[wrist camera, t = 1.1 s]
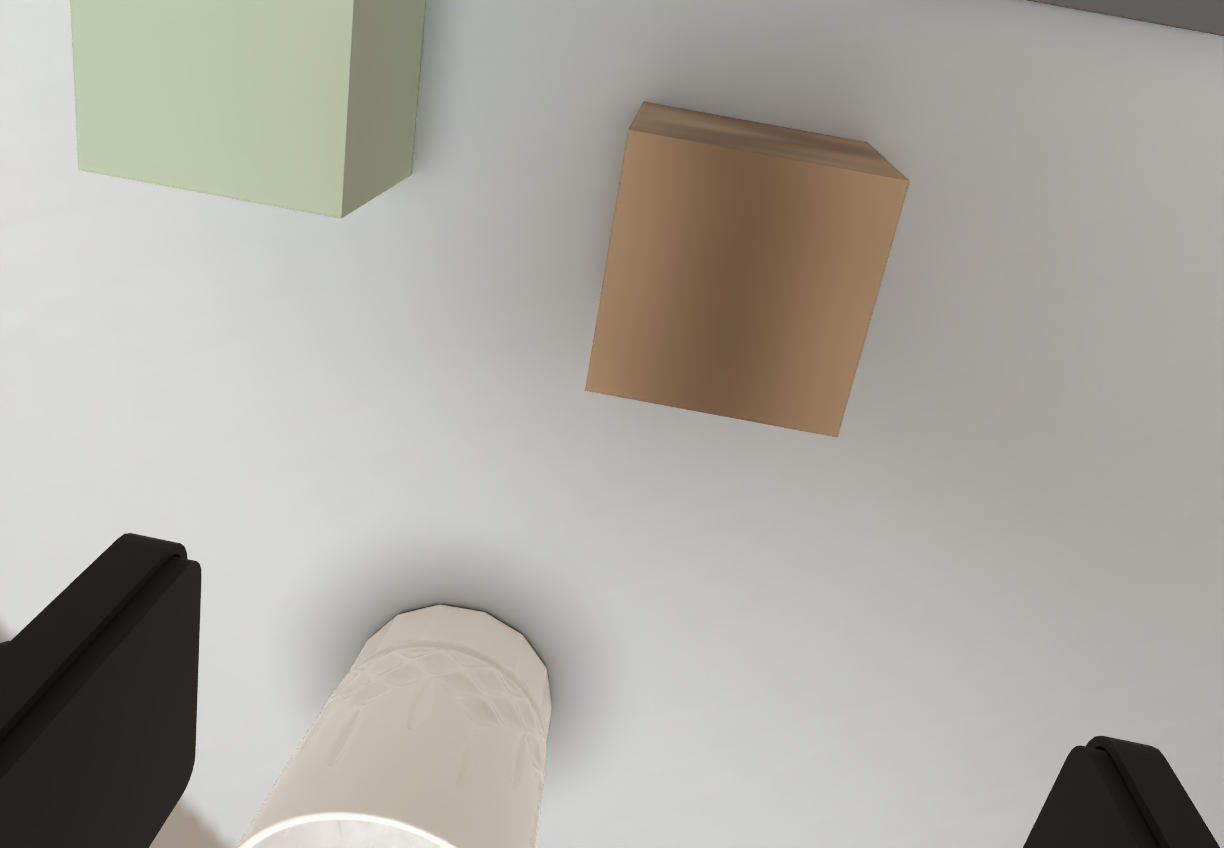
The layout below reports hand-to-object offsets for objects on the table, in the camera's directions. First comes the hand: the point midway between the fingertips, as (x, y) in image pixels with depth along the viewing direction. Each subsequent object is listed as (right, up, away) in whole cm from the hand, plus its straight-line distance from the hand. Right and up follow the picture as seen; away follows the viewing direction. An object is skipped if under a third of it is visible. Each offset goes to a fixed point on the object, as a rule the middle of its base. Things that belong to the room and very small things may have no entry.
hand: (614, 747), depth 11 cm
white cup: (-5, -5, +24) cm, 25 cm away
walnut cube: (+3, +9, +17) cm, 20 cm away
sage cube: (-8, +14, +16) cm, 23 cm away
